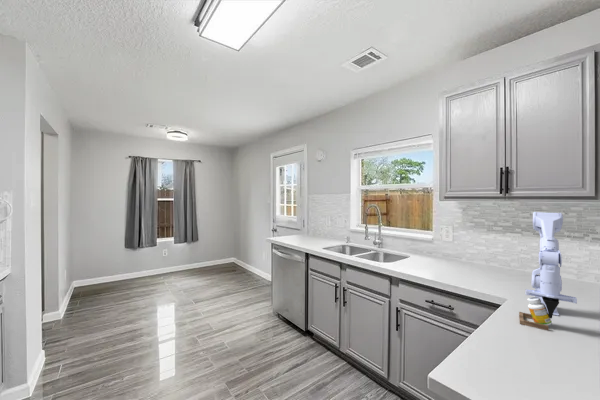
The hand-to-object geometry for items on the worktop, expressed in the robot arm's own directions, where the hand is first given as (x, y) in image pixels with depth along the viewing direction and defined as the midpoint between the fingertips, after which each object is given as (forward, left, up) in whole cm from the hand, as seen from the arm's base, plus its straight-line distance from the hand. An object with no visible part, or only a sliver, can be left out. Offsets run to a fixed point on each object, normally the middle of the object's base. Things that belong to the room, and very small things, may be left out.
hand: (549, 317), depth 104 cm
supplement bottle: (-1, -2, -3) cm, 4 cm away
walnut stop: (-1, -4, -4) cm, 6 cm away
